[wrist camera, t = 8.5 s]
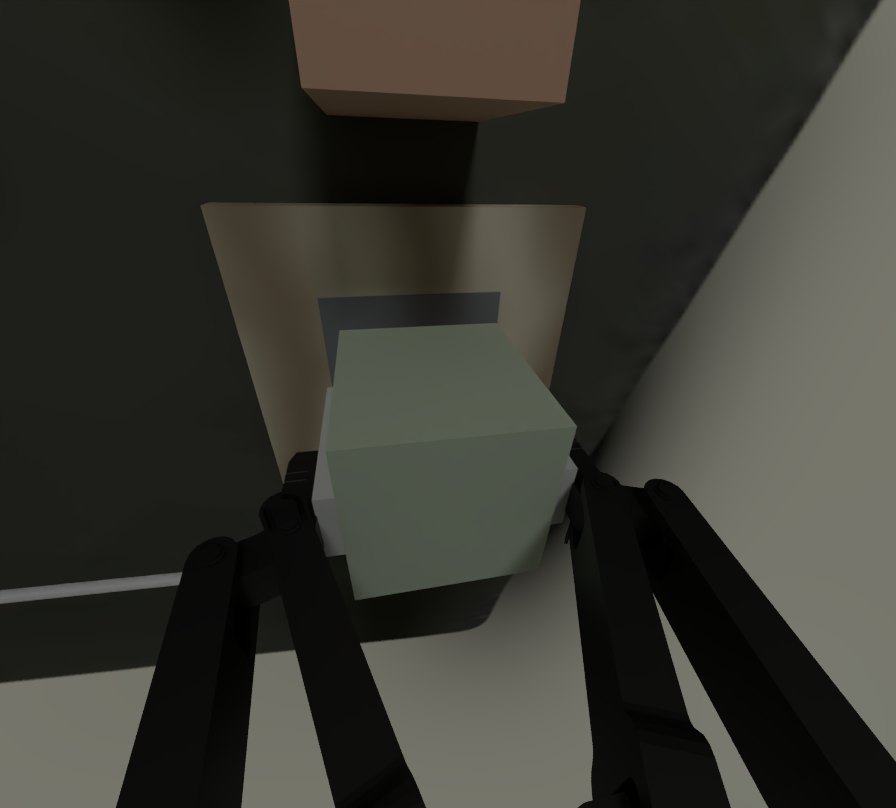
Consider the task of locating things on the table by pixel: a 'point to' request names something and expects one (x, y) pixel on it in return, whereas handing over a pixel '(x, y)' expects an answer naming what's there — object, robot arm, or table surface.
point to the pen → (89, 587)
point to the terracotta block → (434, 56)
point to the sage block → (441, 456)
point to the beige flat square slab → (382, 287)
